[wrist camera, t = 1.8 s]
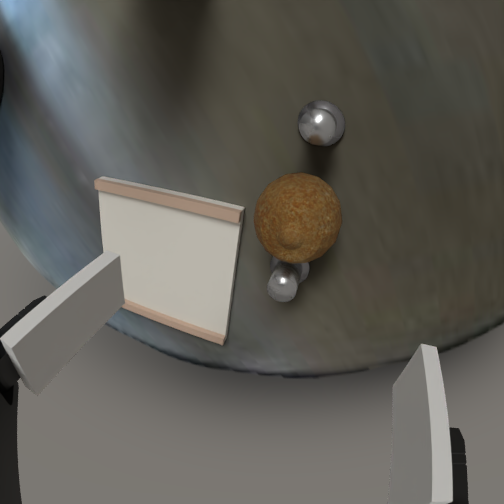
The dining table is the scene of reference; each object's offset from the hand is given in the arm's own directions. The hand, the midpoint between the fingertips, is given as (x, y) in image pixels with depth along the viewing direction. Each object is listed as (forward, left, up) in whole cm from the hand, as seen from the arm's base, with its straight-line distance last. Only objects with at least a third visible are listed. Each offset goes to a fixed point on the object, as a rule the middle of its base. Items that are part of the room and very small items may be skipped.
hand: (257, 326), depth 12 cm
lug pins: (0, 0, -16) cm, 16 cm away
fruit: (0, 0, -16) cm, 16 cm away
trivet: (-13, -10, -16) cm, 23 cm away
